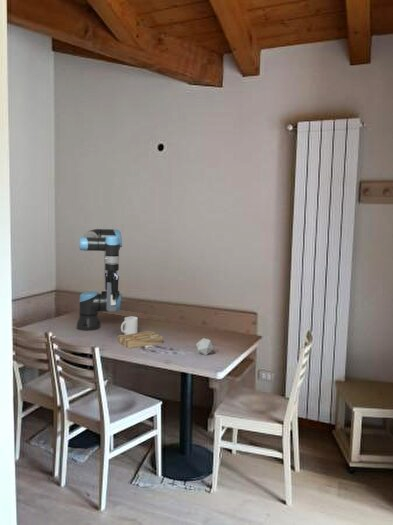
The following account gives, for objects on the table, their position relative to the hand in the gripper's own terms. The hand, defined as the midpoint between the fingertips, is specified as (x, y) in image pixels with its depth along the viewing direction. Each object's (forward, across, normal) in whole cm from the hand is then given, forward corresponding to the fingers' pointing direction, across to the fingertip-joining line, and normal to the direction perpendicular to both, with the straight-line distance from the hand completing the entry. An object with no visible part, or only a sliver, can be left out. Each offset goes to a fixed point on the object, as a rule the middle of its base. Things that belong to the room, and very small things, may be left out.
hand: (111, 304), depth 265 cm
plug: (+4, 0, 0) cm, 4 cm away
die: (+24, +39, +38) cm, 60 cm away
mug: (+24, -15, +19) cm, 34 cm away
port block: (+24, +4, +17) cm, 30 cm away
